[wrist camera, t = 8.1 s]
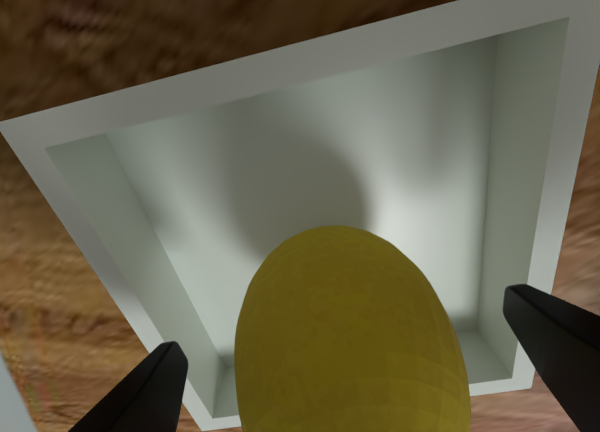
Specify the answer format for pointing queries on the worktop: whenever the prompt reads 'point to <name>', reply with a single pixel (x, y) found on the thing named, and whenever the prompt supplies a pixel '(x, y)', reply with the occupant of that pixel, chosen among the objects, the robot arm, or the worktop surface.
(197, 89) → the tray
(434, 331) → the lemon
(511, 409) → the worktop surface
